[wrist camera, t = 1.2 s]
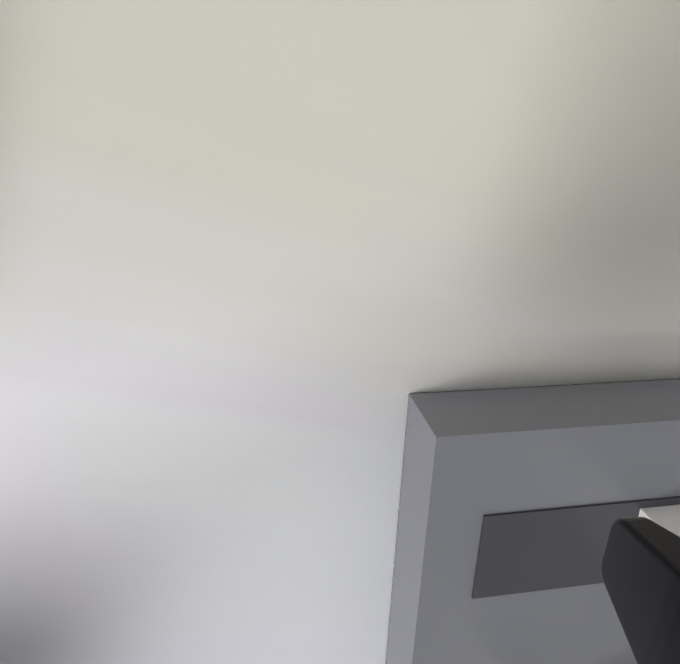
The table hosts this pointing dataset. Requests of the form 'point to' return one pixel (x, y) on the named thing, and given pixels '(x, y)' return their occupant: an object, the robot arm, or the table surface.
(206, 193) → the table surface
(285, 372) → the table surface
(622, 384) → the three-peg stand
